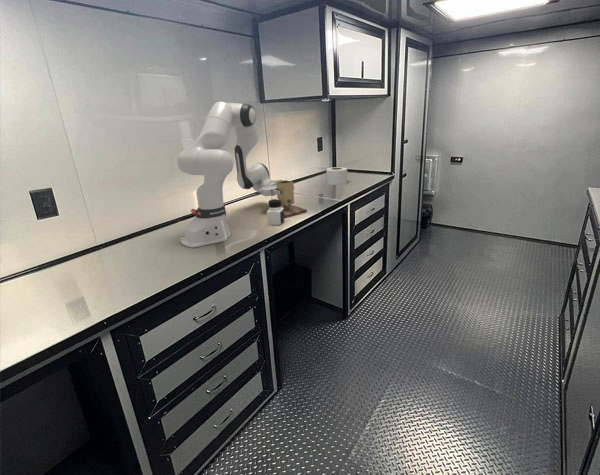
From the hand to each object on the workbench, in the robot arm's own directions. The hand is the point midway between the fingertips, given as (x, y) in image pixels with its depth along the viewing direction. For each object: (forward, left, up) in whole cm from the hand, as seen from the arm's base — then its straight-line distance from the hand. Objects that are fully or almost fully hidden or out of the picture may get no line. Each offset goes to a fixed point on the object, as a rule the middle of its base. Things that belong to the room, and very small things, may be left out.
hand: (286, 191), depth 185 cm
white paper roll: (+74, +35, -12) cm, 83 cm away
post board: (0, +1, -12) cm, 12 cm away
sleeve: (0, +1, -7) cm, 7 cm away
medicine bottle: (-15, -10, -12) cm, 22 cm away
